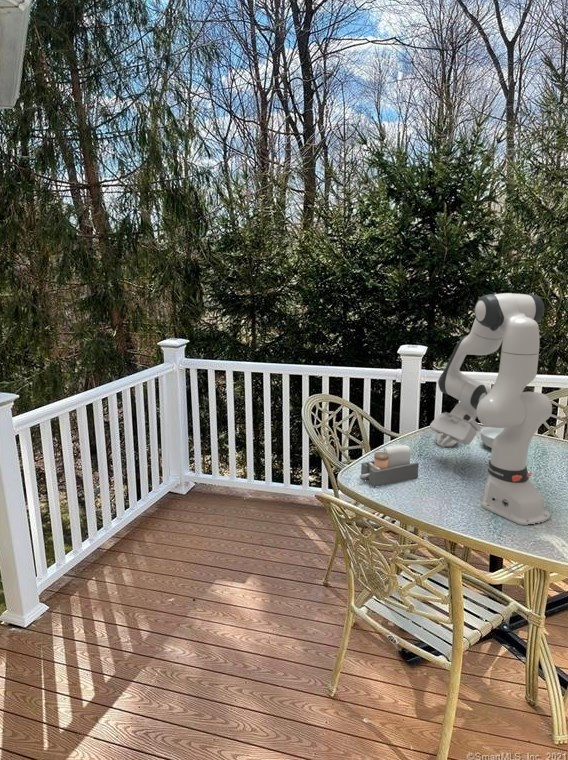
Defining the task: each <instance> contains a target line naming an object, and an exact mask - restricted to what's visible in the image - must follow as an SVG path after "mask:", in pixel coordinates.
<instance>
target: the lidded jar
mask: <svg viewBox="0 0 568 760" xmlns="http://www.w3.org/2000/svg"><path fill="white" fill-rule="evenodd" d="M434 433H435V439H436V441H438V440H439V436H440V434H439V433H436V432H434ZM445 439H446V438H445ZM445 439H443V440H445ZM457 443H458V442H457V441H455V440H452V441H451V442H450V443H448V444H446V445H445V446H444V447H451V448H452V447H454V446H455V445H456V444H457Z"/></svg>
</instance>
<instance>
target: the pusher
mask: <svg viewBox="0 0 568 760" xmlns="http://www.w3.org/2000/svg"><path fill="white" fill-rule="evenodd" d="M368 466H369V471H368V473H367V474H362V475H361V474H360V475H359V479H362V478H364V477H368V479H369V472H370V469H371V468H372V469H374V470H375V471H377V470H380V468H378V467H377V466H375V465H374V464H373V463H371V462H370V463H369V465H368Z"/></svg>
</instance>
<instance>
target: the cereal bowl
mask: <svg viewBox="0 0 568 760" xmlns="http://www.w3.org/2000/svg"><path fill="white" fill-rule="evenodd" d="M503 430H504V428H492V427H486V426H484V427H483V428H482V429H480V438H481V441H482V442H483V445H485V446H486V447H489V448H490V449H492V443H493V440H494V438H495V437H496V436H497V435H499V434H500V433H501V432H502V431H503Z"/></svg>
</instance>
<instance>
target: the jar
mask: <svg viewBox="0 0 568 760" xmlns="http://www.w3.org/2000/svg"><path fill="white" fill-rule="evenodd" d="M373 454H374V455H373V457H374V459H373V461H374V465H375V466H377V467H378V468H380V470H382V469H387V468H388V456H389V455H388V454H387V453H385V452H384V451H383V452H382V451H378V452H375V453H373Z"/></svg>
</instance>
